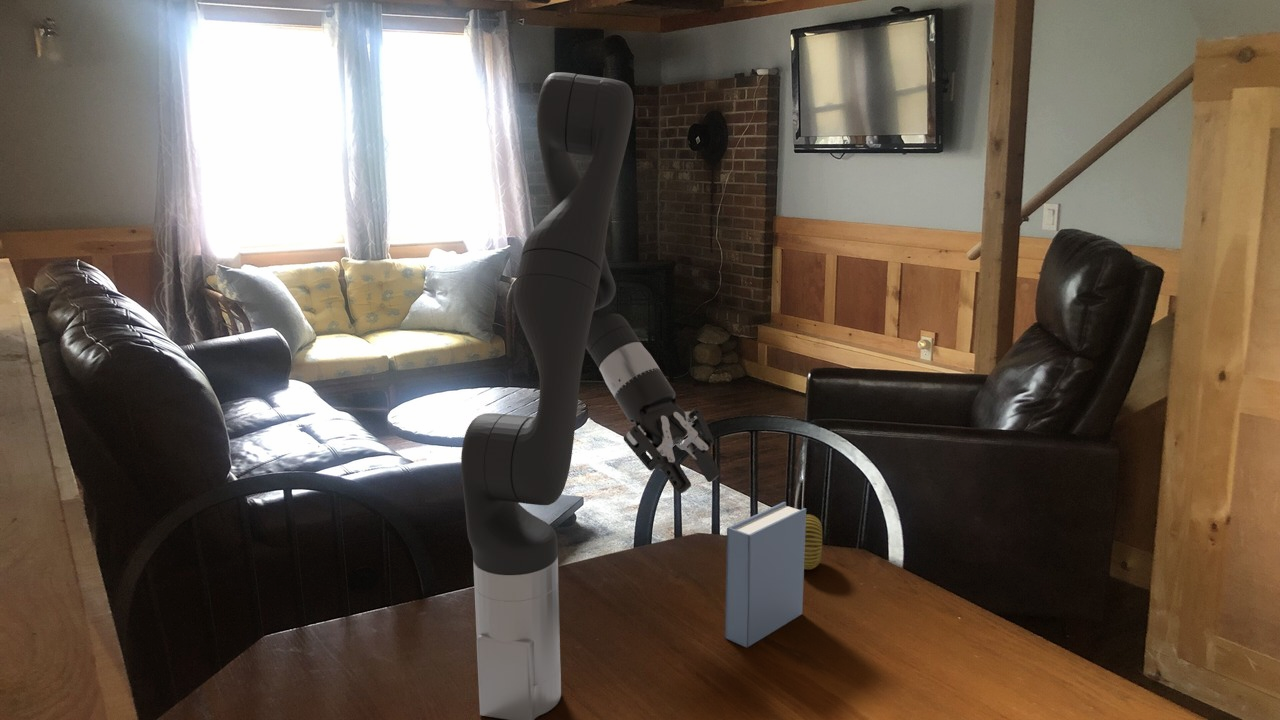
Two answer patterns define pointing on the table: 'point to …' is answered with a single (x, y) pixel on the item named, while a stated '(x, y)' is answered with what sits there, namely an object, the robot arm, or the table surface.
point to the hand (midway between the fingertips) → (700, 483)
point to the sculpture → (813, 542)
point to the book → (764, 573)
